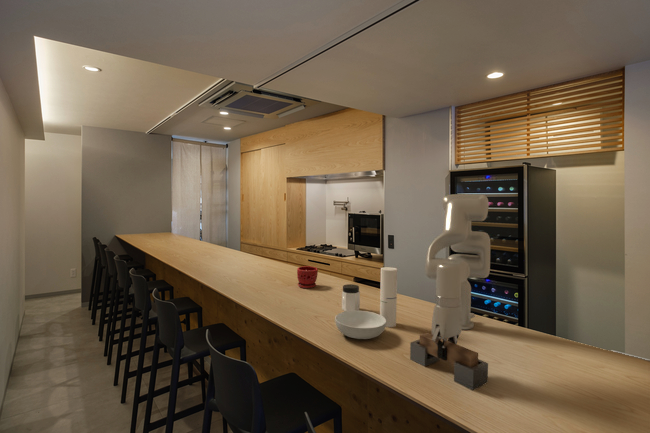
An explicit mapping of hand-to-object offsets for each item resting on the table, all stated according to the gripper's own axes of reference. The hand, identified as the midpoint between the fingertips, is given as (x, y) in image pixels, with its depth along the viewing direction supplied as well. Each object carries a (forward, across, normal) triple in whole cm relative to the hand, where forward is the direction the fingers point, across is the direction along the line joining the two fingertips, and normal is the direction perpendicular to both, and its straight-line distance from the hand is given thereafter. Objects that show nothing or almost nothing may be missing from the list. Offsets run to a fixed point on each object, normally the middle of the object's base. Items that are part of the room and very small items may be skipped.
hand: (446, 356), depth 110 cm
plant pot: (+5, -19, -116) cm, 118 cm away
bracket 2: (+5, 0, +8) cm, 9 cm away
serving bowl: (+5, +4, -38) cm, 39 cm away
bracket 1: (+5, 0, -8) cm, 9 cm away
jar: (+5, -13, -65) cm, 66 cm away
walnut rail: (+1, 0, 0) cm, 1 cm away
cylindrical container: (+5, -14, -40) cm, 43 cm away
